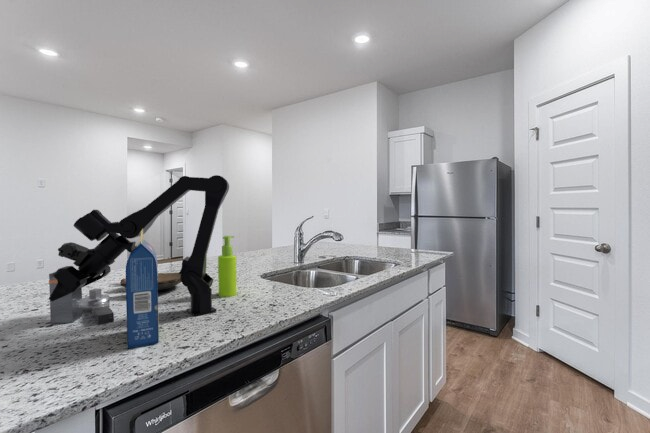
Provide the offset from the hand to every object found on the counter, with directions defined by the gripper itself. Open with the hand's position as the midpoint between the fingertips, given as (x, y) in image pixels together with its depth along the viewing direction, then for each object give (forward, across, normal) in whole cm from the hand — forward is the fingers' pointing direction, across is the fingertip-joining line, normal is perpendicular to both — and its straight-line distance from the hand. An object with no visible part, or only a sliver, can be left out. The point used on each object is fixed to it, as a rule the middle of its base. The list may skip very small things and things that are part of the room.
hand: (60, 295), depth 88 cm
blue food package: (-13, +16, +23) cm, 31 cm away
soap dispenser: (-24, -17, +34) cm, 45 cm away
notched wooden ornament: (-5, -32, +15) cm, 36 cm away
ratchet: (-1, -4, +10) cm, 11 cm away
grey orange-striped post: (+4, 0, +6) cm, 7 cm away
